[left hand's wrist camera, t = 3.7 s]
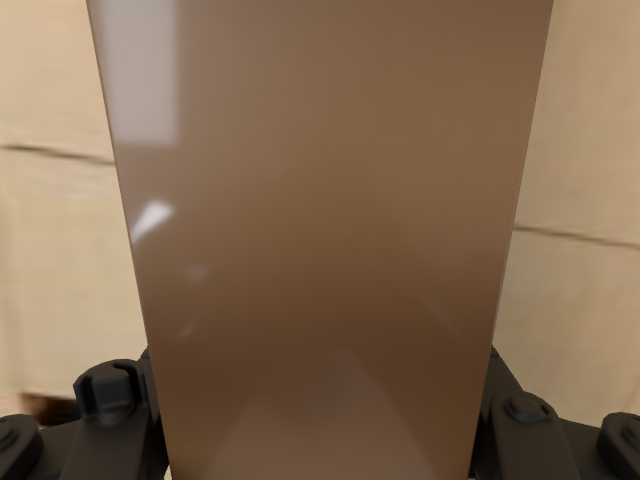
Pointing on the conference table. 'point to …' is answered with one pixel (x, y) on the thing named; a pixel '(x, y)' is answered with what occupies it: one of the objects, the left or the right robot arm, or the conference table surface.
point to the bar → (319, 221)
